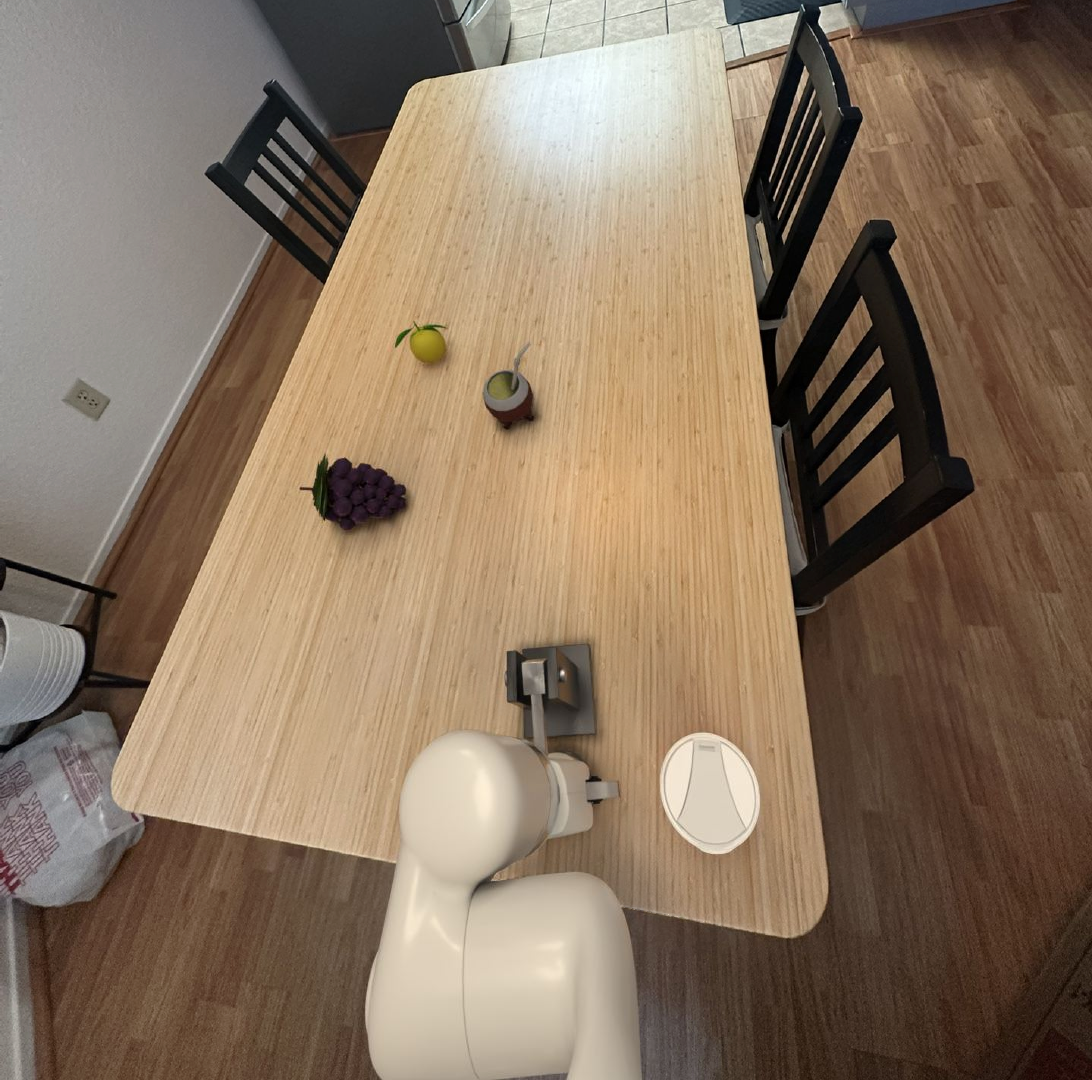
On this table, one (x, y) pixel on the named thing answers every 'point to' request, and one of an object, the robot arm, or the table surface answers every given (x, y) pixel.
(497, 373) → the mate gourd
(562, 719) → the lever base stand
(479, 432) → the table surface
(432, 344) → the lemon
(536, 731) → the lever
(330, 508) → the fruit
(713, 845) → the coffee cup
